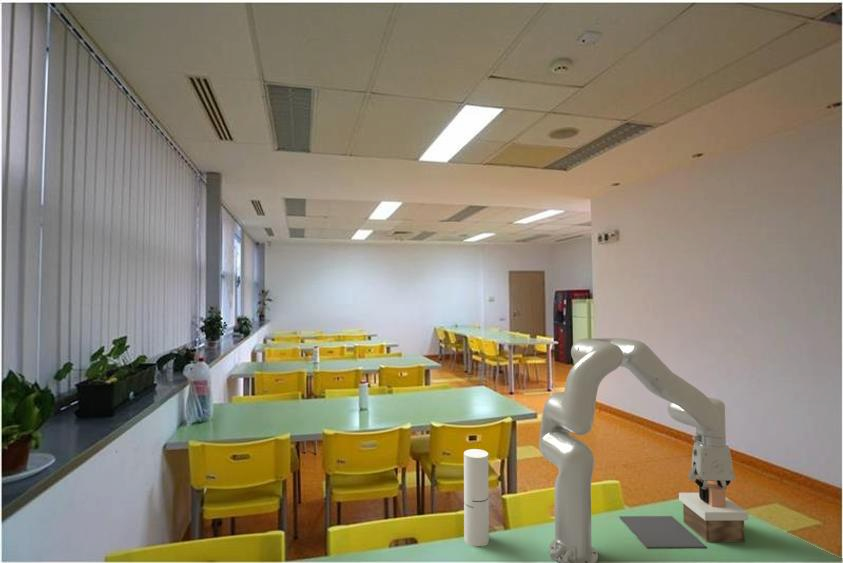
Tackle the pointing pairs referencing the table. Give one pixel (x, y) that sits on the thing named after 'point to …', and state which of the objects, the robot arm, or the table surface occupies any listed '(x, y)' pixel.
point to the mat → (661, 532)
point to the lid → (714, 505)
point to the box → (714, 527)
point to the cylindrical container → (476, 497)
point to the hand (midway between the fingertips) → (712, 500)
